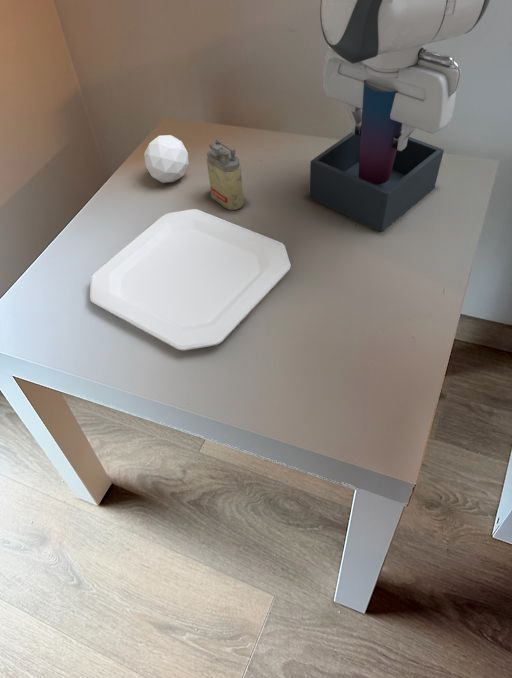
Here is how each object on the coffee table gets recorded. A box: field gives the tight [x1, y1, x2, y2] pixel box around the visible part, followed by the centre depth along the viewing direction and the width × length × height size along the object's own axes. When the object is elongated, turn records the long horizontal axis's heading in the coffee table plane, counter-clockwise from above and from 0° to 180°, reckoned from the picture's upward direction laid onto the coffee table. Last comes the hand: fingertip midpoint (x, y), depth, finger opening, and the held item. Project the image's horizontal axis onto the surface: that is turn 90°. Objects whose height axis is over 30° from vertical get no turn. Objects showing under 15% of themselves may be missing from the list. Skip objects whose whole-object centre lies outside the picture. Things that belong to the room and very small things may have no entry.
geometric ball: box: [143, 134, 190, 184], centre depth 95 cm, size 8×8×8 cm
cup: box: [359, 80, 403, 185], centre depth 81 cm, size 7×7×15 cm
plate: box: [89, 208, 292, 352], centre depth 80 cm, size 25×25×2 cm
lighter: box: [206, 138, 245, 211], centre depth 89 cm, size 7×4×10 cm, turn 37°
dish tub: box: [308, 131, 445, 233], centre depth 87 cm, size 15×15×7 cm
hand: (378, 140), depth 82 cm, fingers closed on cup, 6 cm apart
